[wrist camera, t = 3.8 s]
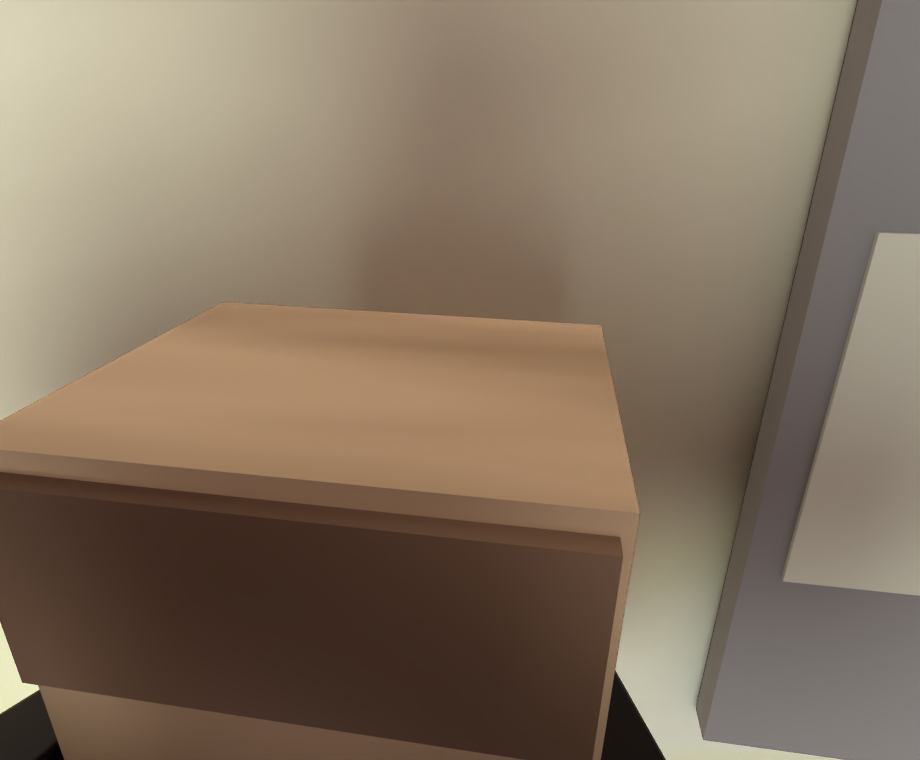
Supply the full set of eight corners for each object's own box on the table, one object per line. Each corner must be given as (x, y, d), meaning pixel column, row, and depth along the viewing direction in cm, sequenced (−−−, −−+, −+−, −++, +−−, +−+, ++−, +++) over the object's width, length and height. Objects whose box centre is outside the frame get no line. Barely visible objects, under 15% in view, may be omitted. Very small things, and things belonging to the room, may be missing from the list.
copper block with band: (547, 798, 11) (541, 1155, 7) (285, 756, 12) (153, 1063, 8) (601, 325, 8) (644, 531, 4) (222, 301, 8) (-71, 457, 4)
